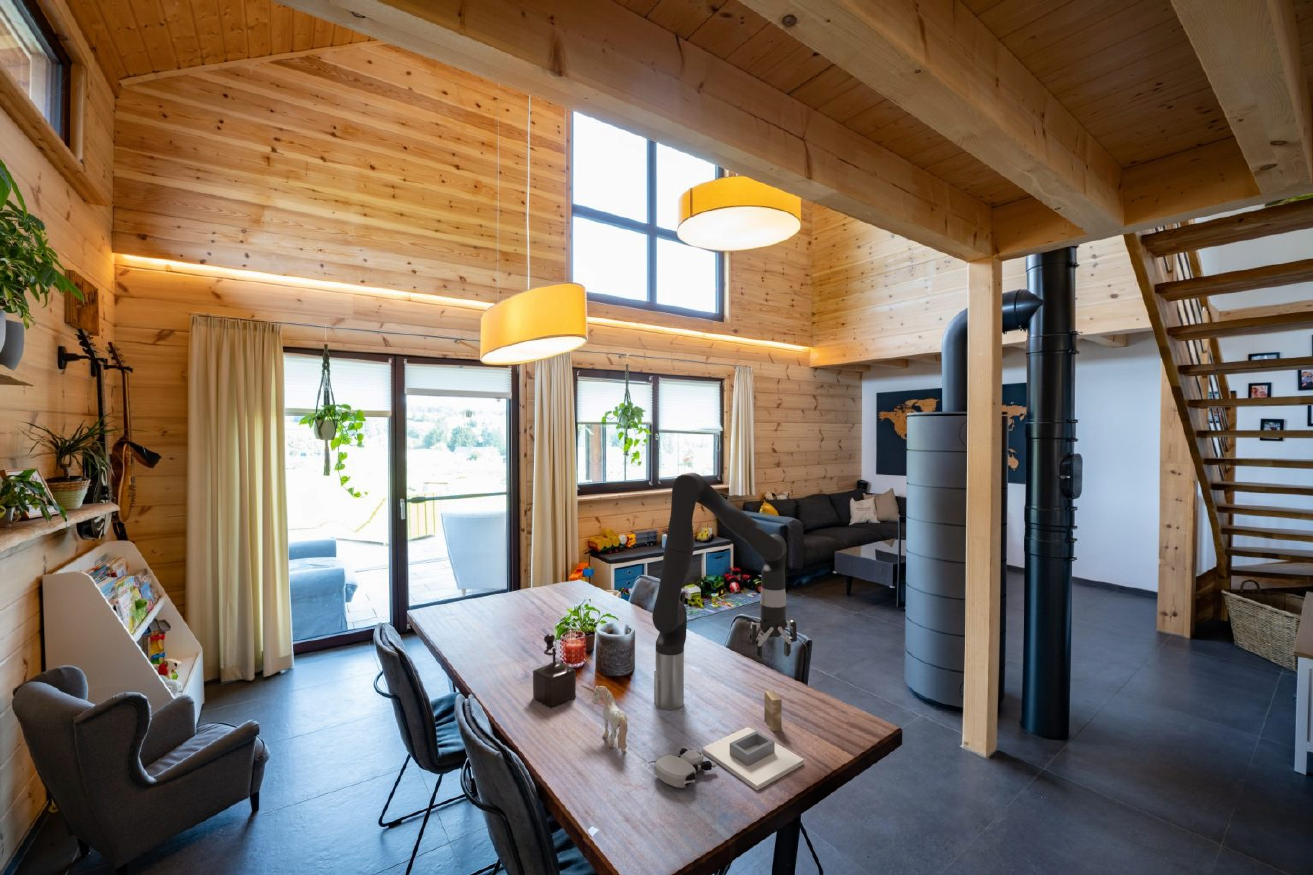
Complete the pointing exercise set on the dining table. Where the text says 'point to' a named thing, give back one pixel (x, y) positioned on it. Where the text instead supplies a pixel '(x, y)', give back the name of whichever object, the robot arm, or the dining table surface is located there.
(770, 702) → the tall wooden peg block
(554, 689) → the dark block with post
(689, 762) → the robot toy
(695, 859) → the dining table surface
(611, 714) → the unicorn figurine
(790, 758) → the socket base
